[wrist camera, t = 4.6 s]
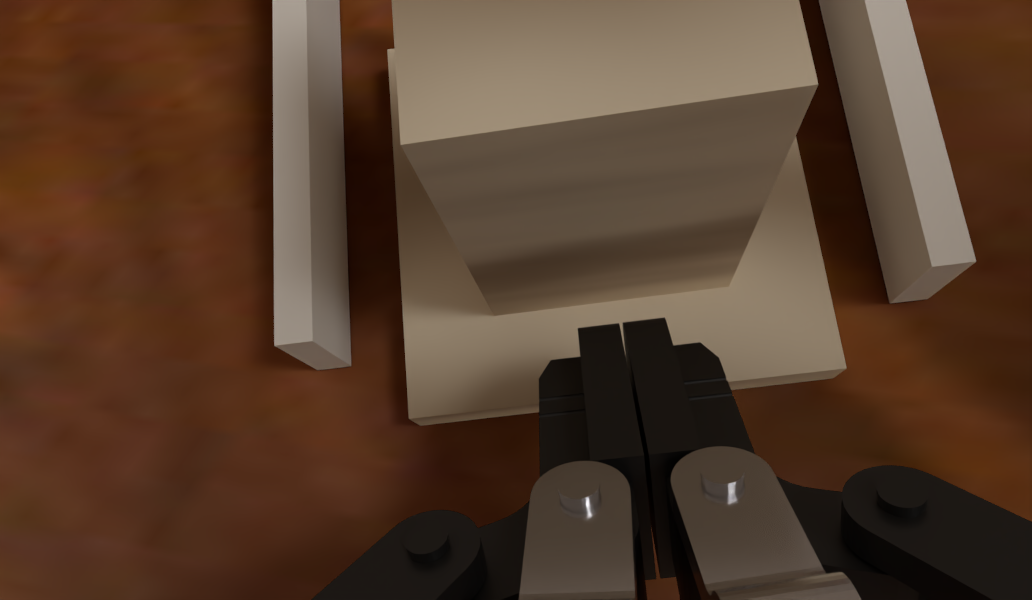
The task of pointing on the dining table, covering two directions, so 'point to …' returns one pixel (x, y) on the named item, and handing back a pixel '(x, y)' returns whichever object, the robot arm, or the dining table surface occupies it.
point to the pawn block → (601, 191)
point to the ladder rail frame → (866, 100)
